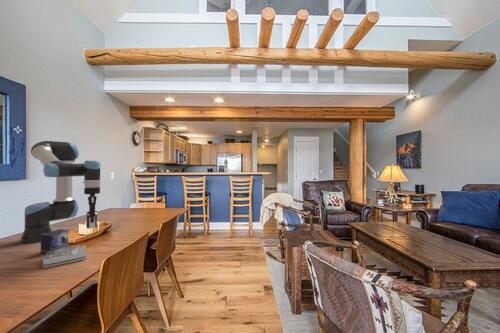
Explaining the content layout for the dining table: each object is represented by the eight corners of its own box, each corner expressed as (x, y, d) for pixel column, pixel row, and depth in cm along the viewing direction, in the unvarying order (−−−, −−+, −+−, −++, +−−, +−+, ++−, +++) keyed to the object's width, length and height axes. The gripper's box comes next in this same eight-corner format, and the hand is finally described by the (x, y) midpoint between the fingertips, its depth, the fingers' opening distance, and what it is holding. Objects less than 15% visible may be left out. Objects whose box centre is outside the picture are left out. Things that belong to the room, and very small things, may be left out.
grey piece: (46, 259, 111) (46, 249, 111) (85, 251, 121) (85, 242, 121) (43, 268, 101) (43, 257, 101) (86, 259, 111) (86, 249, 111)
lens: (86, 226, 127) (86, 211, 127) (97, 225, 130) (97, 210, 130) (86, 229, 123) (86, 213, 123) (97, 227, 126) (97, 212, 126)
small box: (49, 254, 117) (49, 235, 117) (39, 253, 119) (39, 234, 119) (69, 247, 128) (69, 229, 128) (60, 246, 129) (60, 228, 129)
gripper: (84, 185, 131) (83, 223, 132) (84, 188, 117) (83, 231, 117) (99, 185, 136) (98, 222, 136) (101, 188, 121) (100, 229, 122)
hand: (91, 226), depth 127 cm, fingers closed on lens, 5 cm apart
